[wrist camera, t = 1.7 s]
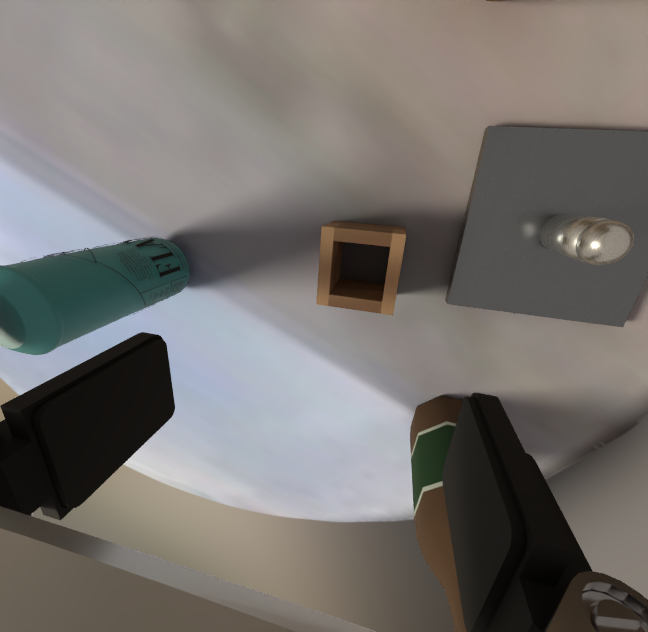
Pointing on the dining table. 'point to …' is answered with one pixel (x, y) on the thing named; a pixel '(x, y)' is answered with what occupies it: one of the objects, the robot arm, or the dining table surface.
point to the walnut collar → (356, 291)
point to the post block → (556, 224)
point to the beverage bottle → (84, 291)
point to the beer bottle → (435, 493)
